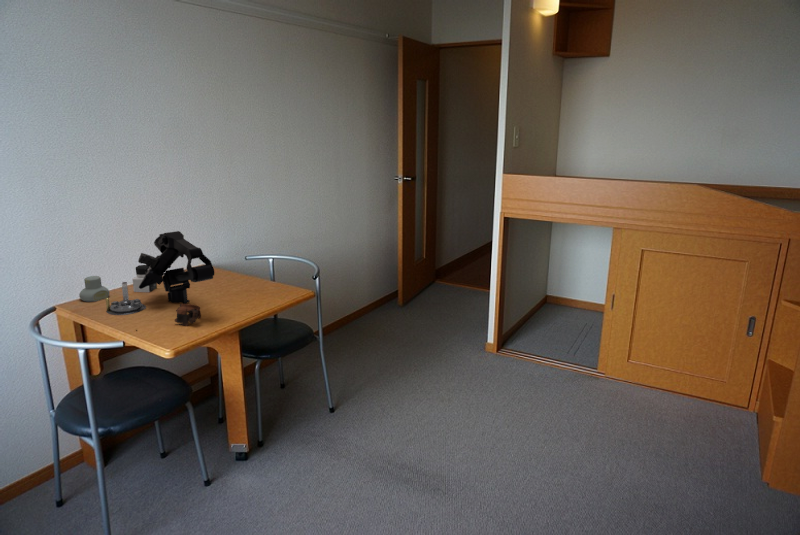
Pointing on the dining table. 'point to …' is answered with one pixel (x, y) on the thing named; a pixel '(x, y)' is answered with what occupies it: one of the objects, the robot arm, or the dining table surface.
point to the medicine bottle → (138, 279)
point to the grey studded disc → (125, 302)
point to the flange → (121, 313)
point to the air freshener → (93, 290)
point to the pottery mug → (184, 317)
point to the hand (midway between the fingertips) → (139, 288)
